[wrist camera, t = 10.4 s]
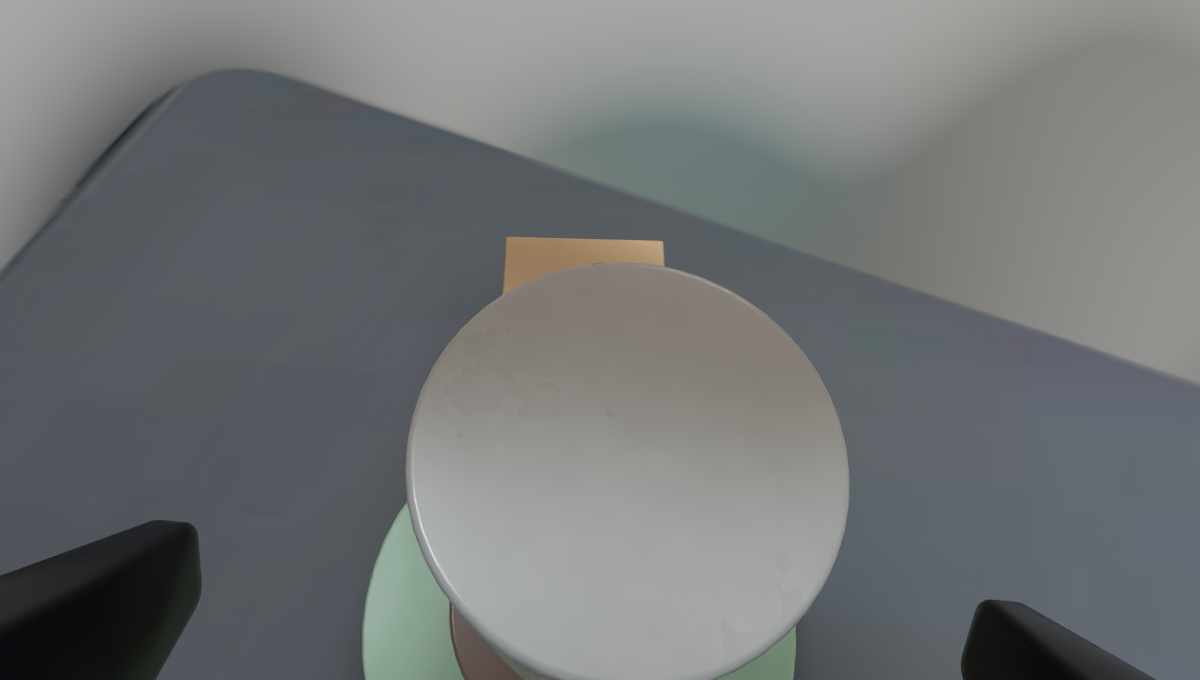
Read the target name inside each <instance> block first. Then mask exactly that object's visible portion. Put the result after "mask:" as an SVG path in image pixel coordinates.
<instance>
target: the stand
mask: <svg viewBox="0 0 1200 680" xmlns="http://www.w3.org/2000/svg"><path fill="white" fill-rule="evenodd" d="M795 656H796V625H795V626H794V628H793V629H792V630H791V631H790V632H789V633H788V634H787V635H786V636H785V637H784V638H783V639H781V640H780V641H779V642H778V643H777V644H775V645H774V646H773V647H772V648H770V649H769V650H768V651H767V652H766V653H764V654H763V655H762V656H760V657H758V658H757V659H755V660H753V661H752V662H750V663H748V664H747V665H745V666H743V667H742V668H740V669H738V670H736V671H735V672H733V673H730V674H728V675H725V676H723V677H720V678H718V679H715V680H793V677H794V667H795ZM362 662H363V669H364V677H365V680H464V678H463V676H462V674H461V671H460V668H459V666H458V663H457V660H456V658H455V654H454V649H453V645H452V641H451V634H450V624H449V599H448V598H447V597H446V595H445V594H444V593H443V591H442V590H441V589H440V587H439V585H438V584H437V582H436V580H435V578H434V576H433V575H432V573H431V571H430V569H429V567H428V565H427V564H426V562H425V560H424V557H423V555H422V552H421V549H420V547H419V544H418V541H417V539H416V536H415V533H414V530H413V526H412V521H411V517H410V513H409V508H408V504H407V502H406V504H405V505H404V507H403V508H402V509H401V511H400V512H399V514H398V515H397V517H396V519H395V521H394V523H393V525H392V527H391V528H390V530H389V532H388V534H387V536H386V538H385V540H384V542H383V545H382V547H381V550H380V552H379V555H378V558H377V560H376V563H375V565H374V568H373V572H372V576H371V580H370V584H369V588H368V592H367V596H366V602H365V610H364V618H363V626H362Z"/></svg>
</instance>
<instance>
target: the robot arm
mask: <svg viewBox="0 0 1200 680" xmlns="http://www.w3.org/2000/svg"><path fill="white" fill-rule="evenodd" d="M201 586H202V582H201V568H200V555H199V541H198V534H197V531H196V529H195V527H194V526H193V525H191V524H190V523H186V522H176V521H165V520H153V521H150V522H147V523H144V524H142V525H139V526H136V527H133V528H131V529H128V530H125V531H122V532H120V533H117V534H114V535H111V536H109V537H106V538H103V539H100V540H98V541H95V542H92V543H89V544H87V545H84V546H81V547H78V548H76V549H73V550H70V551H67V552H65V553H62V554H59V555H56V556H54V557H51V558H48V559H45V560H42V561H40V562H37V563H34V564H31V565H29V566H26V567H23V568H20V569H18V570H15V571H12V572H9V573H7V574H4V575H1V576H0V680H155V679H156V677H157V676H158V674H159V672H160V670H161V669H162V667H163V665H164V663H165V662H166V660H167V658H168V656H169V655H170V653H171V651H172V649H173V648H174V646H175V644H176V642H177V640H178V639H179V637H180V635H181V633H182V632H183V630H184V628H185V626H186V625H187V623H188V621H189V619H190V618H191V616H192V614H193V612H194V611H195V609H196V607H197V604H198V601H199V598H200V594H201ZM961 672H962V677H963V680H1156V679H1154V678H1152V677H1150V676H1149V675H1147V674H1145V673H1143V672H1142V671H1140V670H1138V669H1136V668H1135V667H1133V666H1131V665H1129V664H1128V663H1126V662H1124V661H1122V660H1121V659H1119V658H1117V657H1115V656H1114V655H1112V654H1110V653H1108V652H1107V651H1105V650H1103V649H1101V648H1100V647H1098V646H1096V645H1094V644H1093V643H1091V642H1089V641H1087V640H1086V639H1084V638H1082V637H1080V636H1079V635H1077V634H1075V633H1073V632H1072V631H1070V630H1068V629H1066V628H1065V627H1063V626H1061V625H1059V624H1058V623H1056V622H1054V621H1052V620H1051V619H1049V618H1047V617H1045V616H1044V615H1042V614H1040V613H1038V612H1037V611H1035V610H1033V609H1031V608H1029V607H1028V606H1026V605H1024V604H1022V603H1018V602H1011V601H1000V600H985V601H983V602H981V603H980V604H979V605H978V607H977V609H976V611H975V614H974V618H973V621H972V624H971V627H970V631H969V634H968V637H967V641H966V644H965V647H964V651H963V654H962V659H961Z"/></svg>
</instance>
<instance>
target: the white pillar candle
mask: <svg viewBox="0 0 1200 680" xmlns="http://www.w3.org/2000/svg"><path fill="white" fill-rule="evenodd" d="M405 482H406V494H407V504H408V508H409V513H410V517H411V521H412V526H413V530H414V533H415V536H416V539H417V541H418V544H419V547H420V549H421V552H422V555H423V557H424V560H425V562H426V564H427V565H428V567H429V569H430V571H431V573H432V575H433V576H434V578H435V580H436V582H437V584H438V585H439V587H440V589H441V590H442V591H443V593H444V594H445V595H446V597H447V598H448V599H449V624H450V634H451V641H452V645H453V649H454V654H455V658H456V660H457V663H458V666H459V668H460V671H461V674H462V676H463V678H464V680H715V679H718V678H720V677H723V676H725V675H728V674H730V673H733V672H735V671H736V670H738V669H740V668H742V667H743V666H745V665H747V664H748V663H750V662H752V661H753V660H755V659H757V658H758V657H760V656H762V655H763V654H764V653H766V652H767V651H768V650H769V649H770V648H772V647H773V646H774V645H775V644H777V643H778V642H779V641H780V640H781V639H783V638H784V637H785V636H786V635H787V634H788V633H789V632H790V631H791V630H792V629H793V628H794V626H795V625H796V624H797V623H798V622H799V621H800V620H801V619H802V618H803V617H804V615H805V614H806V613H807V612H808V610H809V609H810V607H811V606H812V604H813V603H814V601H815V600H816V598H817V597H818V595H819V594H820V592H821V591H822V589H823V588H824V586H825V584H826V581H827V579H828V577H829V575H830V573H831V571H832V569H833V566H834V564H835V562H836V560H837V556H838V553H839V550H840V547H841V543H842V540H843V537H844V533H845V527H846V521H847V514H848V508H849V469H848V460H847V451H846V445H845V441H844V437H843V433H842V429H841V425H840V421H839V418H838V416H837V413H836V411H835V408H834V405H833V403H832V400H831V398H830V395H829V393H828V392H827V390H826V388H825V386H824V384H823V382H822V380H821V378H820V377H819V375H818V373H817V371H816V370H815V368H814V367H813V366H812V364H811V363H810V361H809V360H808V358H807V357H806V356H805V354H804V353H803V351H802V350H801V349H800V348H799V347H798V345H797V344H796V343H795V342H794V341H793V340H792V339H791V338H790V336H789V335H788V334H787V333H786V332H785V331H784V330H783V329H782V328H781V327H780V326H779V325H777V324H776V323H775V322H774V321H773V320H772V319H771V318H770V317H769V316H767V315H766V314H765V313H764V312H762V311H761V310H760V309H758V308H757V307H755V306H754V305H753V304H751V303H750V302H748V301H747V300H746V299H744V298H742V297H741V296H739V295H737V294H735V293H734V292H732V291H730V290H728V289H726V288H725V287H723V286H721V285H718V284H716V283H714V282H711V281H709V280H707V279H704V278H702V277H700V276H697V275H693V274H690V273H687V272H684V271H680V270H677V269H673V268H668V267H665V262H664V247H663V242H662V241H640V240H604V239H568V238H533V237H507V238H506V248H505V263H504V278H503V293H502V296H501V297H499V298H498V299H496V300H495V301H493V302H492V303H490V304H489V305H488V306H486V307H485V308H484V309H482V310H481V311H480V312H479V313H478V314H477V315H476V316H474V317H473V318H472V319H471V320H470V321H469V322H468V323H467V324H466V325H465V326H464V327H463V328H462V329H461V330H460V331H459V332H458V334H457V335H456V336H455V337H454V338H453V339H452V340H451V342H450V343H449V344H448V345H447V347H446V348H445V350H444V351H443V353H442V354H441V355H440V357H439V358H438V360H437V361H436V363H435V364H434V366H433V367H432V369H431V371H430V373H429V375H428V377H427V379H426V381H425V383H424V385H423V387H422V389H421V392H420V394H419V397H418V400H417V403H416V406H415V409H414V412H413V415H412V419H411V424H410V429H409V434H408V439H407V444H406V460H405Z"/></svg>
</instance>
